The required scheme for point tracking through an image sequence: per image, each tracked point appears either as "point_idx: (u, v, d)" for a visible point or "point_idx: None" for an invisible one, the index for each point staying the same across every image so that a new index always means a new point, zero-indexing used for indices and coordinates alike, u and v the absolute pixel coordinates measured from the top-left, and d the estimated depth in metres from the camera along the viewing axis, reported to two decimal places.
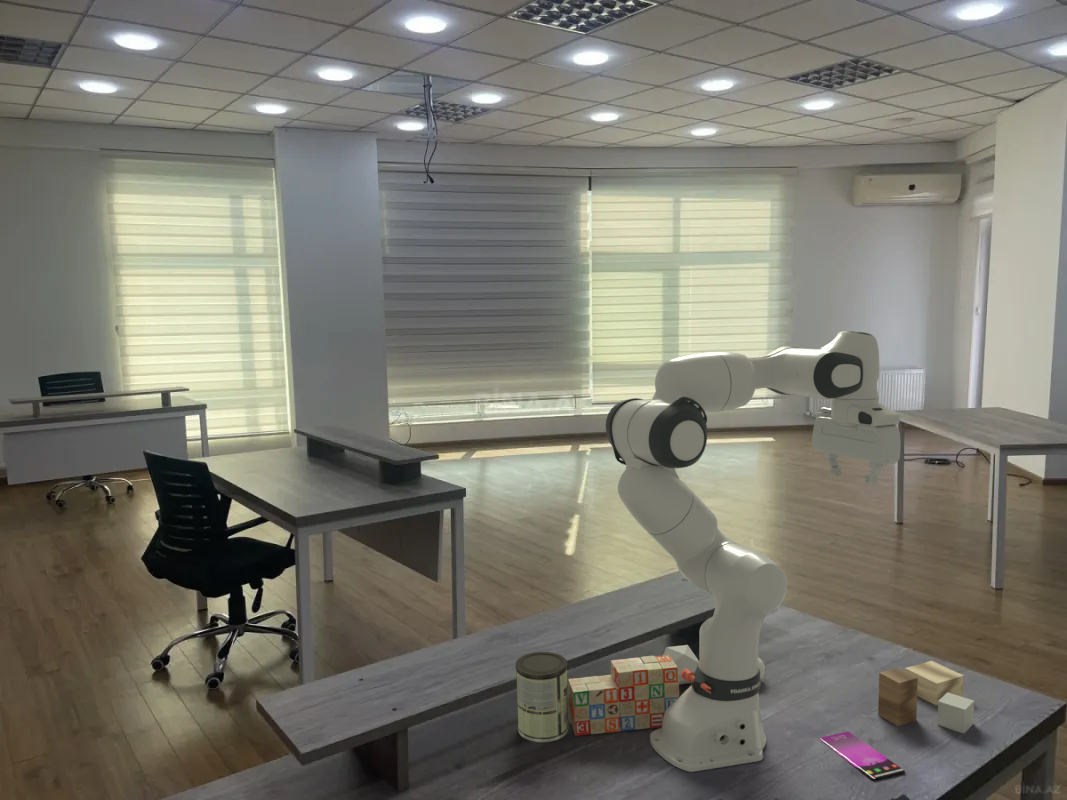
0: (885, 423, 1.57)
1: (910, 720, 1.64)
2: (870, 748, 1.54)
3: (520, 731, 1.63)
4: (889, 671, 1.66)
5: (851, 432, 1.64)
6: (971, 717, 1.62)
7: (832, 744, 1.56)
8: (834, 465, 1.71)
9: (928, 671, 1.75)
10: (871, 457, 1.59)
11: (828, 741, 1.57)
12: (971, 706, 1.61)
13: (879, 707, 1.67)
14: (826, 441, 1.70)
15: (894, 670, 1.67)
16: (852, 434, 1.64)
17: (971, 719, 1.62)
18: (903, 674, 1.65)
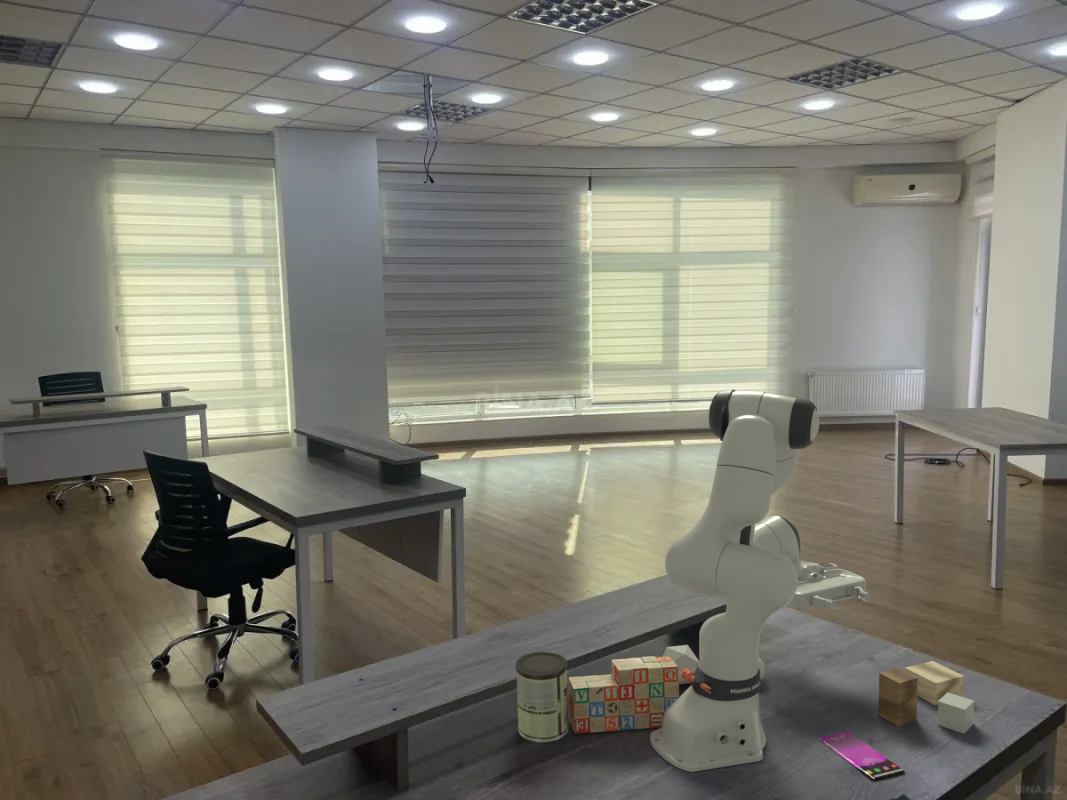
0: None
1: (910, 720, 1.64)
2: (869, 748, 1.54)
3: (520, 731, 1.63)
4: (889, 671, 1.66)
5: (820, 580, 1.84)
6: (971, 717, 1.62)
7: (832, 744, 1.56)
8: None
9: (928, 670, 1.75)
10: (852, 580, 1.83)
11: (828, 741, 1.57)
12: (971, 706, 1.61)
13: (879, 707, 1.67)
14: (806, 588, 1.79)
15: (894, 670, 1.67)
16: (822, 580, 1.84)
17: (971, 719, 1.62)
18: (903, 674, 1.65)
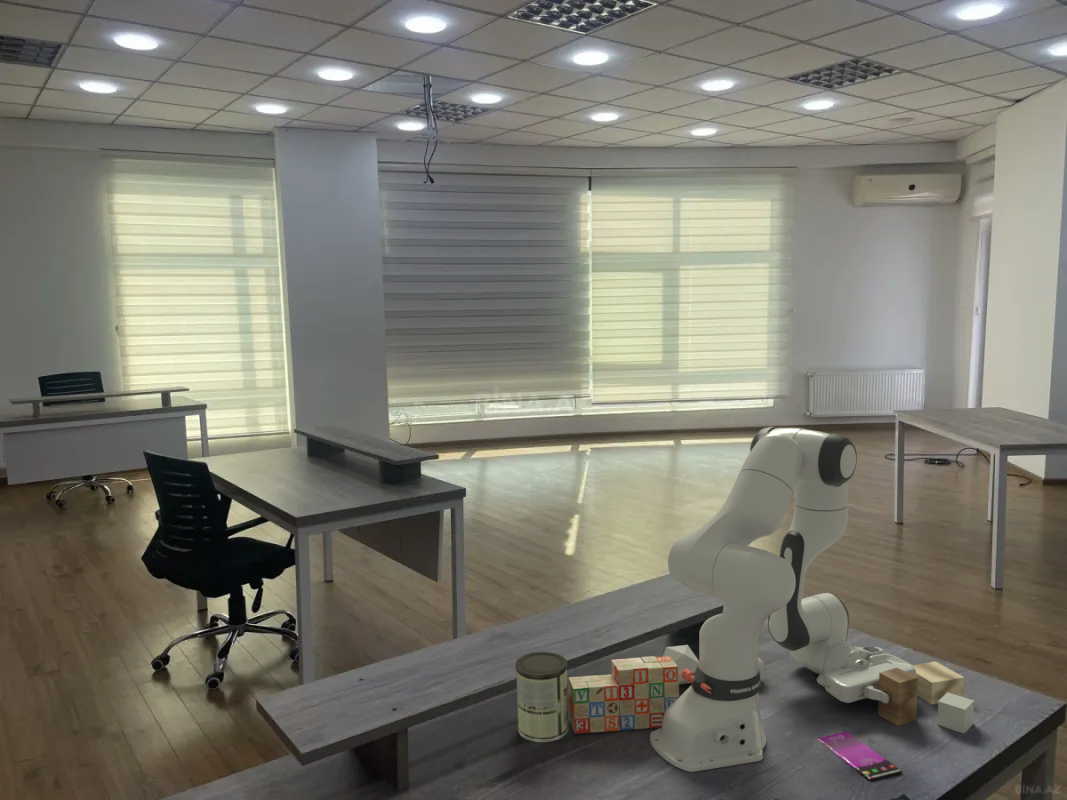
0: None
1: (910, 720, 1.64)
2: (868, 749, 1.54)
3: (520, 731, 1.63)
4: (889, 671, 1.66)
5: (866, 667, 1.74)
6: (971, 717, 1.62)
7: (830, 744, 1.56)
8: None
9: (928, 670, 1.76)
10: (901, 669, 1.72)
11: (826, 741, 1.57)
12: (971, 706, 1.61)
13: (879, 707, 1.67)
14: (853, 678, 1.68)
15: (894, 670, 1.67)
16: (869, 668, 1.73)
17: (971, 719, 1.62)
18: (903, 674, 1.65)
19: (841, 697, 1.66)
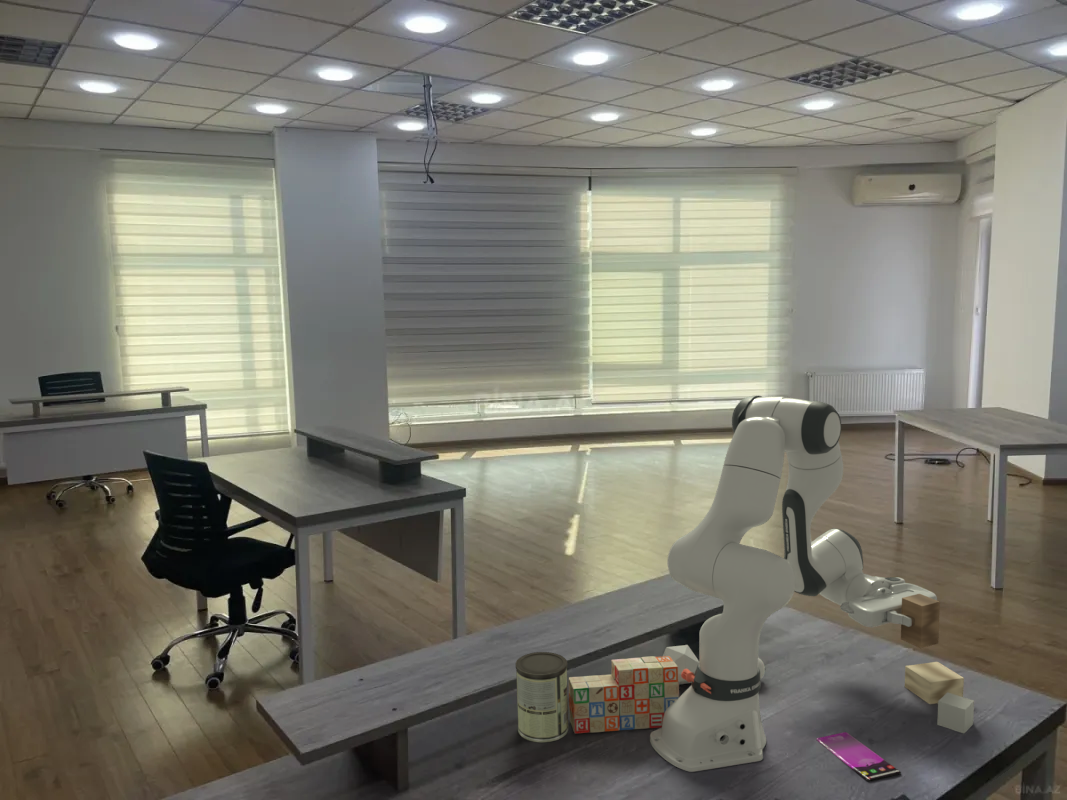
0: None
1: (932, 643, 1.68)
2: (866, 749, 1.54)
3: (520, 731, 1.63)
4: (911, 596, 1.70)
5: (888, 595, 1.77)
6: (971, 717, 1.62)
7: (829, 745, 1.56)
8: None
9: (928, 670, 1.76)
10: None
11: (825, 741, 1.57)
12: (971, 706, 1.61)
13: (902, 631, 1.70)
14: (876, 604, 1.72)
15: (916, 595, 1.71)
16: (891, 596, 1.77)
17: (971, 719, 1.62)
18: (925, 598, 1.69)
19: (865, 622, 1.70)
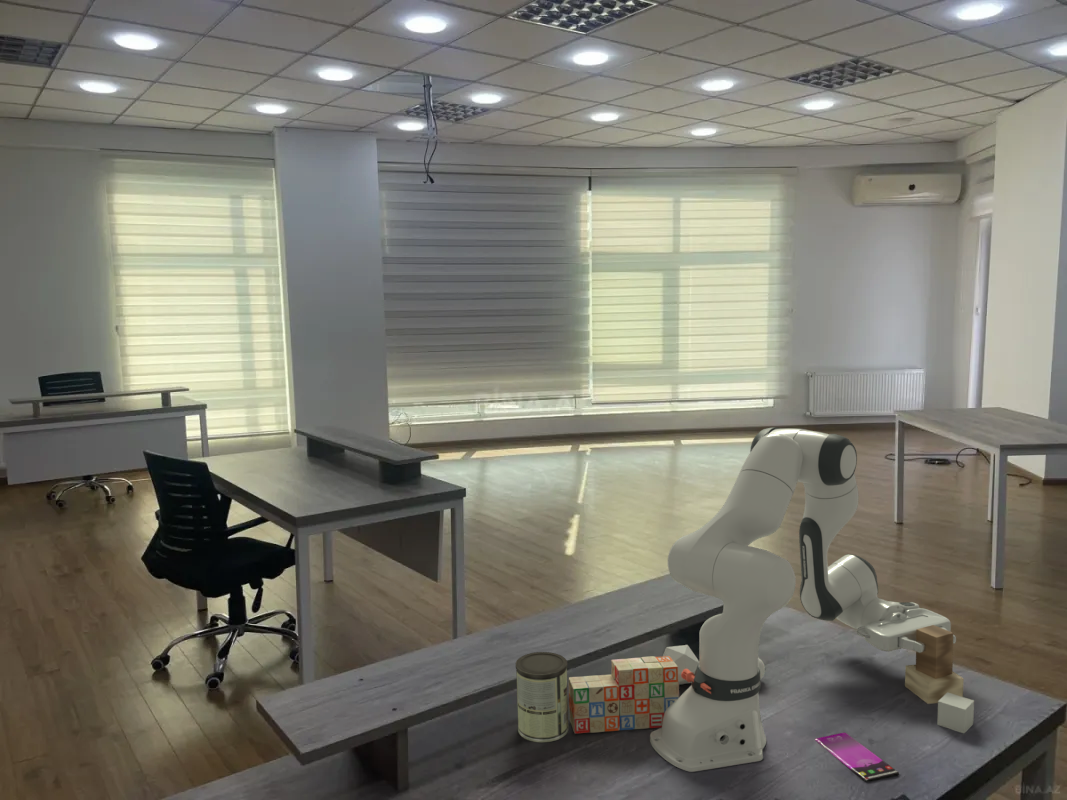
0: None
1: (947, 673, 1.73)
2: (865, 750, 1.54)
3: (520, 731, 1.63)
4: (925, 628, 1.76)
5: (903, 620, 1.82)
6: (971, 717, 1.62)
7: (827, 745, 1.56)
8: None
9: None
10: (937, 621, 1.81)
11: (824, 742, 1.57)
12: (971, 706, 1.61)
13: (916, 662, 1.76)
14: (892, 629, 1.77)
15: (930, 627, 1.76)
16: (906, 621, 1.82)
17: (971, 719, 1.62)
18: (939, 630, 1.74)
19: (881, 646, 1.75)
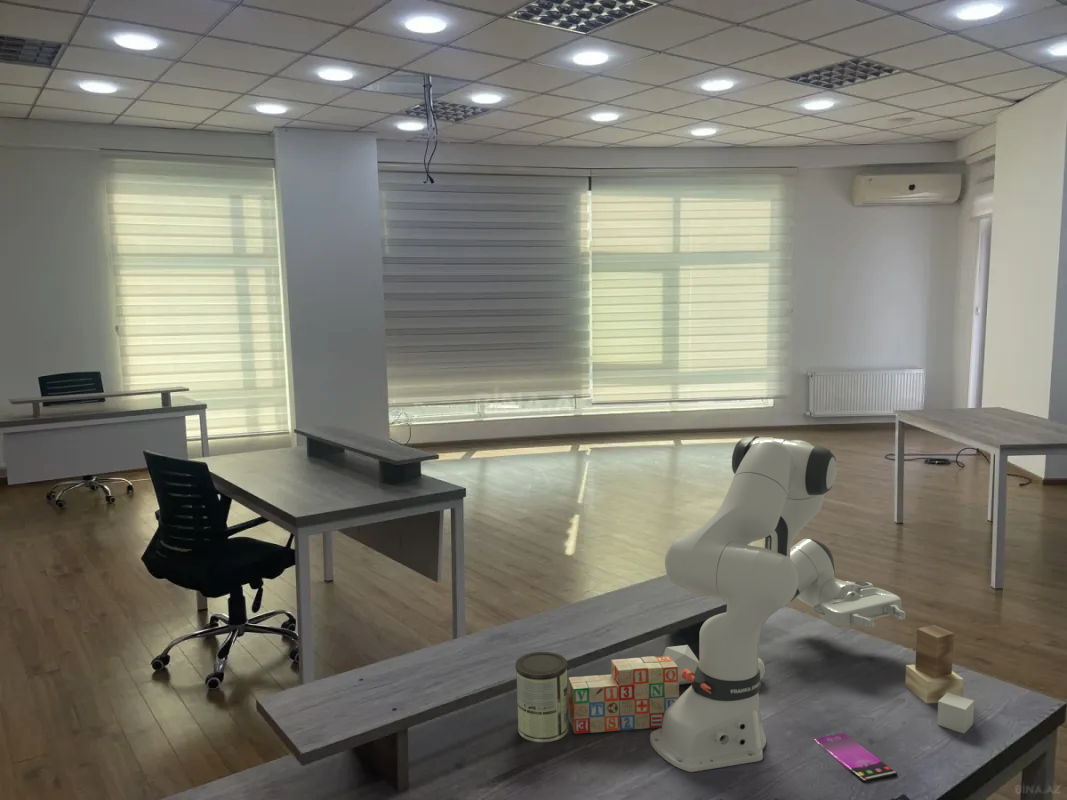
0: None
1: (946, 673, 1.73)
2: (864, 750, 1.54)
3: (520, 731, 1.63)
4: (926, 627, 1.76)
5: (857, 598, 1.95)
6: (971, 717, 1.62)
7: (826, 745, 1.56)
8: None
9: None
10: (888, 599, 1.93)
11: (822, 742, 1.57)
12: (971, 706, 1.61)
13: (916, 661, 1.76)
14: (845, 606, 1.90)
15: (931, 626, 1.76)
16: (860, 599, 1.94)
17: (971, 719, 1.62)
18: (939, 630, 1.74)
19: (834, 622, 1.87)
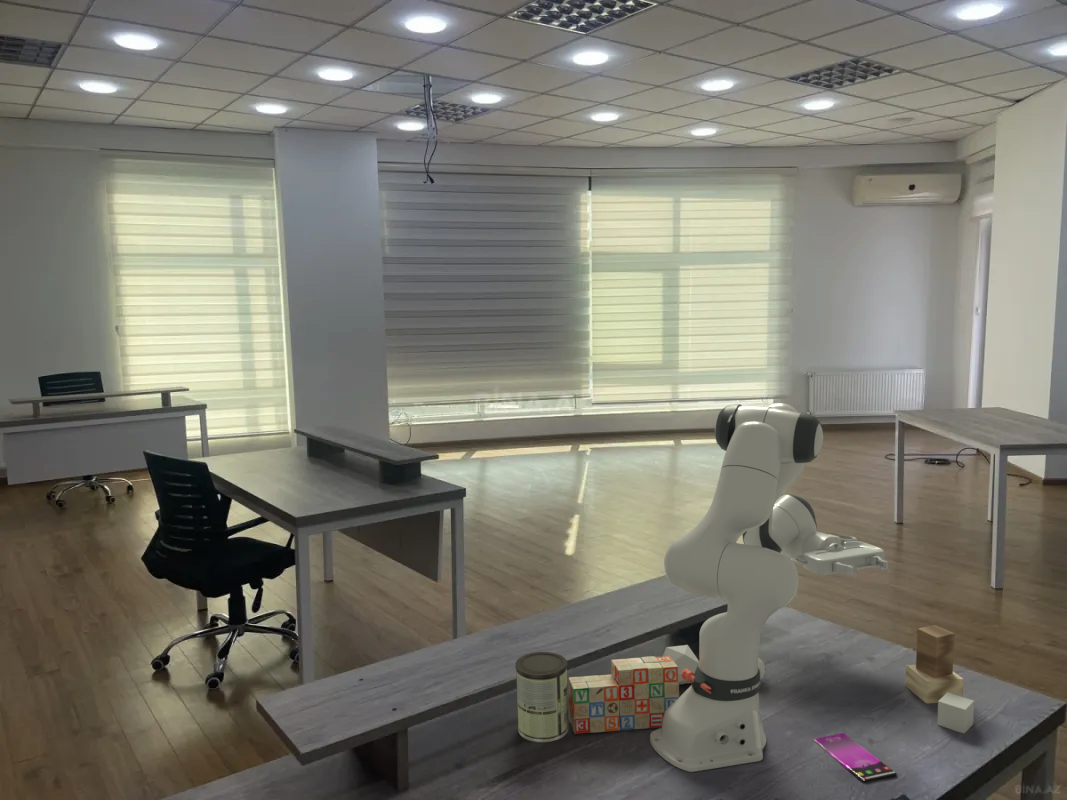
0: None
1: (947, 673, 1.73)
2: (863, 750, 1.54)
3: (520, 731, 1.63)
4: (927, 627, 1.76)
5: (840, 550, 1.94)
6: (971, 717, 1.62)
7: (826, 745, 1.56)
8: None
9: None
10: (871, 551, 1.92)
11: (822, 742, 1.57)
12: (971, 706, 1.61)
13: (917, 661, 1.76)
14: (828, 555, 1.89)
15: (932, 626, 1.76)
16: (843, 550, 1.94)
17: (971, 719, 1.62)
18: (940, 630, 1.74)
19: (816, 570, 1.86)
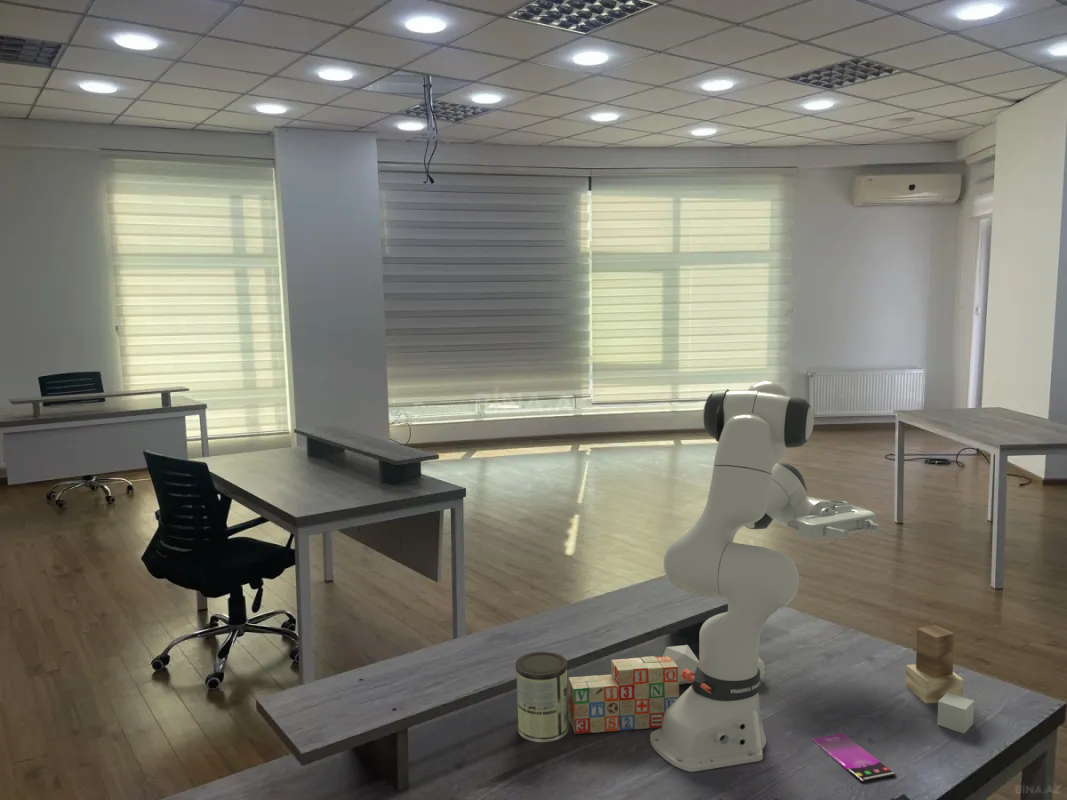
0: None
1: (947, 673, 1.73)
2: (863, 751, 1.53)
3: (520, 731, 1.63)
4: (927, 627, 1.76)
5: (832, 514, 1.93)
6: (971, 717, 1.62)
7: (825, 745, 1.56)
8: None
9: None
10: (863, 514, 1.92)
11: (821, 742, 1.57)
12: (971, 706, 1.61)
13: (917, 661, 1.76)
14: (819, 520, 1.88)
15: (932, 627, 1.76)
16: (834, 515, 1.93)
17: (971, 719, 1.62)
18: (940, 630, 1.74)
19: (808, 535, 1.86)
